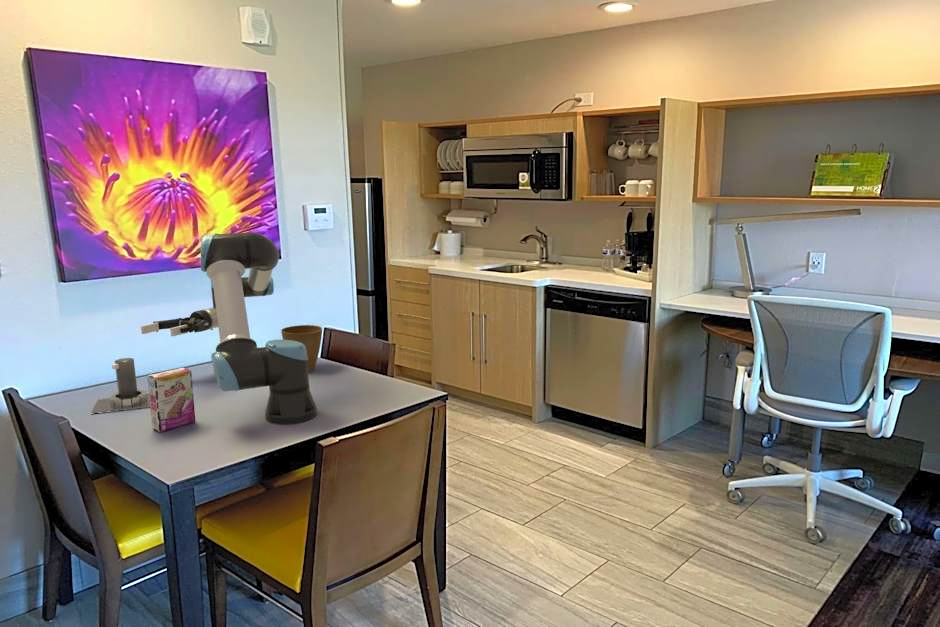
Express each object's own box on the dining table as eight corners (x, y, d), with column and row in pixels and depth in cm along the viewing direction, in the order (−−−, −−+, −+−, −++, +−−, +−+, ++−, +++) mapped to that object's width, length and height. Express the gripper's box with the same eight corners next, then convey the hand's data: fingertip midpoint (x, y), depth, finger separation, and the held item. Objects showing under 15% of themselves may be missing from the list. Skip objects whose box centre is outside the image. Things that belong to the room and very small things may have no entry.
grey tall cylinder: (130, 398, 225) (125, 357, 222) (142, 400, 222) (137, 358, 220) (112, 404, 219) (107, 362, 216) (124, 406, 216) (119, 364, 214)
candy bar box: (160, 433, 195) (154, 378, 192) (152, 429, 198) (145, 375, 195) (197, 422, 203) (191, 369, 200) (188, 418, 206) (183, 366, 203)
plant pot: (293, 378, 246) (290, 335, 243) (278, 369, 258) (275, 328, 255) (331, 371, 255) (328, 329, 252) (315, 362, 267) (312, 322, 264)
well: (161, 406, 218) (160, 396, 218) (91, 414, 211) (90, 405, 211) (164, 393, 231) (163, 384, 230) (98, 401, 224) (97, 392, 224)
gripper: (232, 332, 242) (185, 344, 223) (180, 328, 252) (131, 339, 233) (230, 311, 240) (182, 322, 221) (178, 308, 250) (128, 318, 231)
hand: (156, 331), depth 227 cm, fingers open, 13 cm apart
